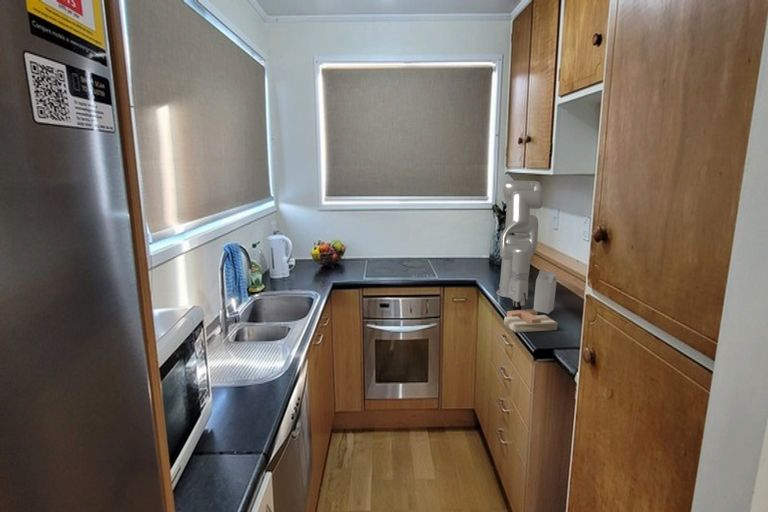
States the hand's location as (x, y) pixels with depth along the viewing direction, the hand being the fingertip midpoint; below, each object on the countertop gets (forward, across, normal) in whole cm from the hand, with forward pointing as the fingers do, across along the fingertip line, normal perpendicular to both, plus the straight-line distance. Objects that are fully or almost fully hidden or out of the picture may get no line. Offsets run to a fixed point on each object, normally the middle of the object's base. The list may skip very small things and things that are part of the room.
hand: (516, 314), depth 197 cm
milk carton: (+1, -6, +17) cm, 18 cm away
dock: (+1, +12, 0) cm, 12 cm away
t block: (+1, +8, +1) cm, 8 cm away
